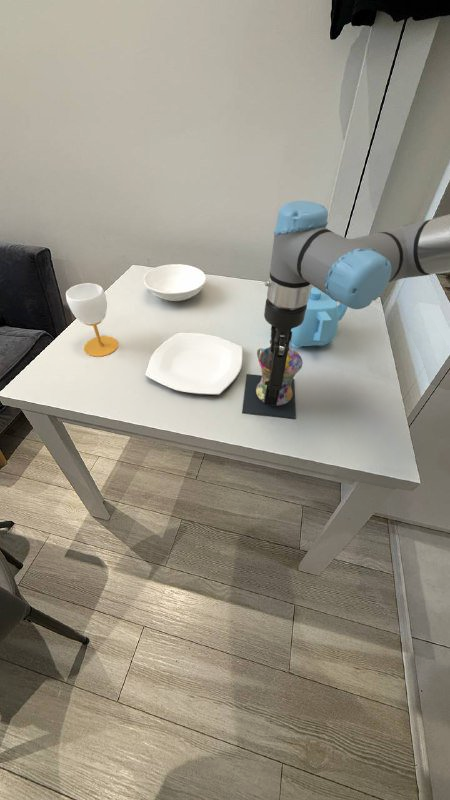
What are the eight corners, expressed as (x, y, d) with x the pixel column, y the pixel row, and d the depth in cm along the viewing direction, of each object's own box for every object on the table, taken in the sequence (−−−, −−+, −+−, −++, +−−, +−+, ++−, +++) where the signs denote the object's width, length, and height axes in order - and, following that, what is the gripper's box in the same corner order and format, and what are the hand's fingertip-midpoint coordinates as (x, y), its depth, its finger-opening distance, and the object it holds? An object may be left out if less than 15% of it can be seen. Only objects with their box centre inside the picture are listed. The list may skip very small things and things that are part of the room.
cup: (76, 351, 87) (55, 295, 75) (98, 333, 93) (82, 279, 81) (103, 360, 84) (86, 305, 73) (125, 341, 90) (112, 287, 79)
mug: (301, 399, 76) (312, 364, 68) (270, 415, 72) (277, 380, 64) (269, 369, 82) (275, 334, 75) (239, 383, 79) (242, 348, 71)
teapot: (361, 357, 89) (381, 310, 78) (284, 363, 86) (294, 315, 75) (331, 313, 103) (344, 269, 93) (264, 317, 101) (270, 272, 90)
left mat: (295, 419, 73) (296, 418, 72) (242, 413, 73) (242, 412, 73) (294, 379, 82) (294, 378, 81) (246, 375, 82) (246, 373, 82)
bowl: (210, 284, 115) (210, 266, 110) (200, 314, 101) (200, 295, 96) (155, 279, 116) (152, 261, 111) (138, 309, 102) (134, 290, 97)
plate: (224, 408, 74) (225, 402, 73) (134, 384, 79) (132, 378, 77) (251, 349, 89) (252, 343, 88) (174, 332, 94) (173, 326, 93)
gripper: (268, 272, 67) (257, 358, 83) (264, 332, 52) (251, 422, 69) (304, 275, 67) (286, 360, 83) (311, 336, 52) (287, 426, 68)
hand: (270, 388), depth 76 cm, fingers closed on mug, 9 cm apart
